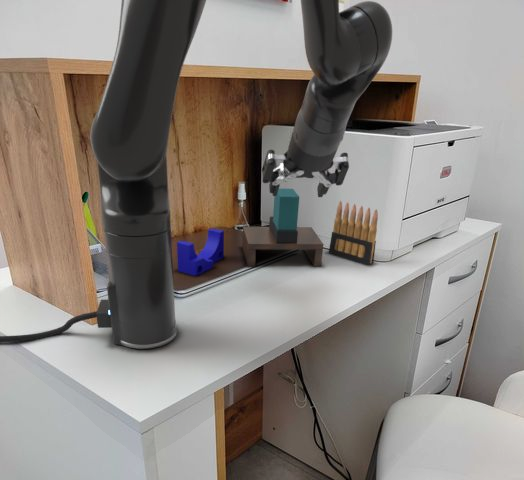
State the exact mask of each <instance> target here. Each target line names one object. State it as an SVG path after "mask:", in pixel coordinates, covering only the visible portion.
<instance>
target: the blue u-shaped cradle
mask: <svg viewBox="0 0 524 480" xmlns="http://www.w3.org/2000/svg"><path fill="white" fill-rule="evenodd" d="M176 253H177V254H176V255H177V271H178V272H181V273H183V274H188V275H190V276H193V277H196V276H199V275H201V274H203V273H205V272H208V271H209V270H212V269H213V268H214V263H216V262H218V261H221V260H222V259H225V258H224V256H225V230H221V229H217V228H210V229H208V230H207V238H206V242H205V245H204V247H203V248H202V250H201V251H200V253H198V254H197V253H196V250H195V244H194V242H193V243H192V242H189V241H185V240H179V241H178V242H176Z"/></svg>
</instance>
